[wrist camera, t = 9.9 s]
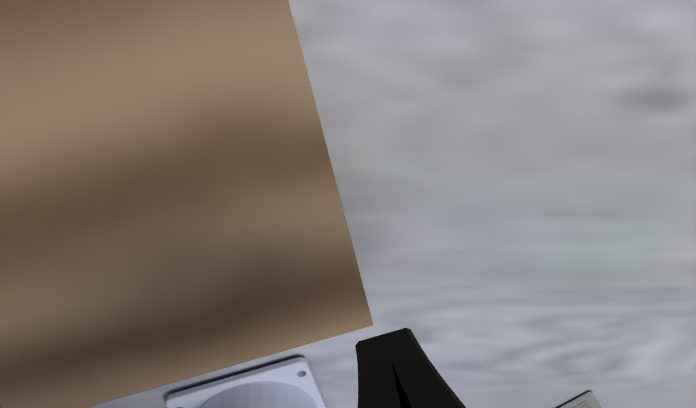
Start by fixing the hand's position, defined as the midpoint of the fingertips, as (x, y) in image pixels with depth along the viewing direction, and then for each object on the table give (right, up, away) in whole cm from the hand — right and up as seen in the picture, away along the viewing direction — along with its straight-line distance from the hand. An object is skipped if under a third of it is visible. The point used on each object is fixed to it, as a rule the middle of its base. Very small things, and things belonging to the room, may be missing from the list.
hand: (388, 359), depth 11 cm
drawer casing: (-10, +5, +6) cm, 13 cm away
